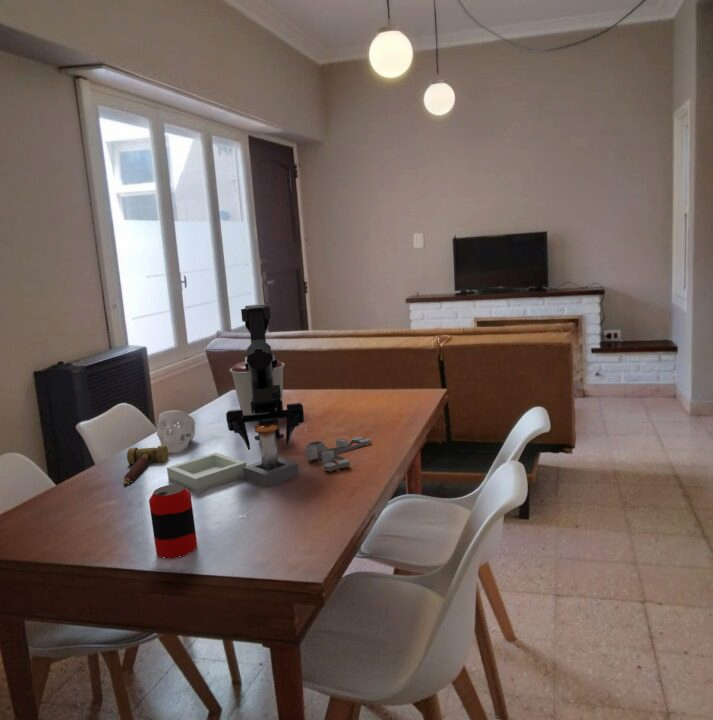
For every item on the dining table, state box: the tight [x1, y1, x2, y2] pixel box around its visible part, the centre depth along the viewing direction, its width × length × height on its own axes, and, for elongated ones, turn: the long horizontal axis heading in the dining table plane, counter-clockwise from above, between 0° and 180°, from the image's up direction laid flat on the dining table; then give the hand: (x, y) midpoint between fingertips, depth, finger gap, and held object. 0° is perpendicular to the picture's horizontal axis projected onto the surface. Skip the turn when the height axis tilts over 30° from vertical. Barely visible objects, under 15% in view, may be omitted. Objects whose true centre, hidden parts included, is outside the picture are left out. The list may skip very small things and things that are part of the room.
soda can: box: [148, 484, 198, 559], centre depth 128 cm, size 8×8×12 cm
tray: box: [166, 452, 247, 494], centre depth 168 cm, size 14×14×4 cm
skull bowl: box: [156, 409, 196, 455], centre depth 198 cm, size 10×14×12 cm
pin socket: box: [243, 457, 300, 488], centre depth 165 cm, size 10×10×3 cm
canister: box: [229, 359, 285, 414], centre depth 226 cm, size 18×18×21 cm
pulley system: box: [304, 436, 372, 473], centre depth 178 cm, size 27×5×15 cm
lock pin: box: [254, 422, 279, 471], centre depth 164 cm, size 6×6×13 cm
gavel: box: [123, 445, 169, 485], centre depth 178 cm, size 21×5×10 cm
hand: (268, 446), depth 163 cm, fingers open, 9 cm apart
